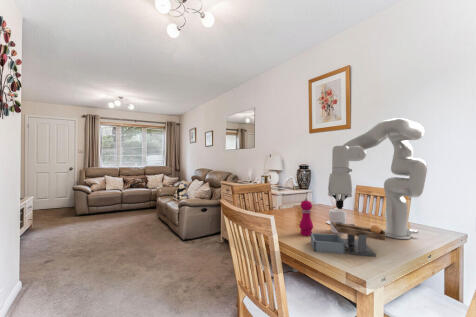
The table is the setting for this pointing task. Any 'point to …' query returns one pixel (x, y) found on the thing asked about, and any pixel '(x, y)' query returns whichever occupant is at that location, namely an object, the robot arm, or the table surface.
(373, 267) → the table surface
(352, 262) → the table surface
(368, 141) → the robot arm
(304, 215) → the pepper mill
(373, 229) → the ball
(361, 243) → the stand
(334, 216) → the cup
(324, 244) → the bin
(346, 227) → the tray
